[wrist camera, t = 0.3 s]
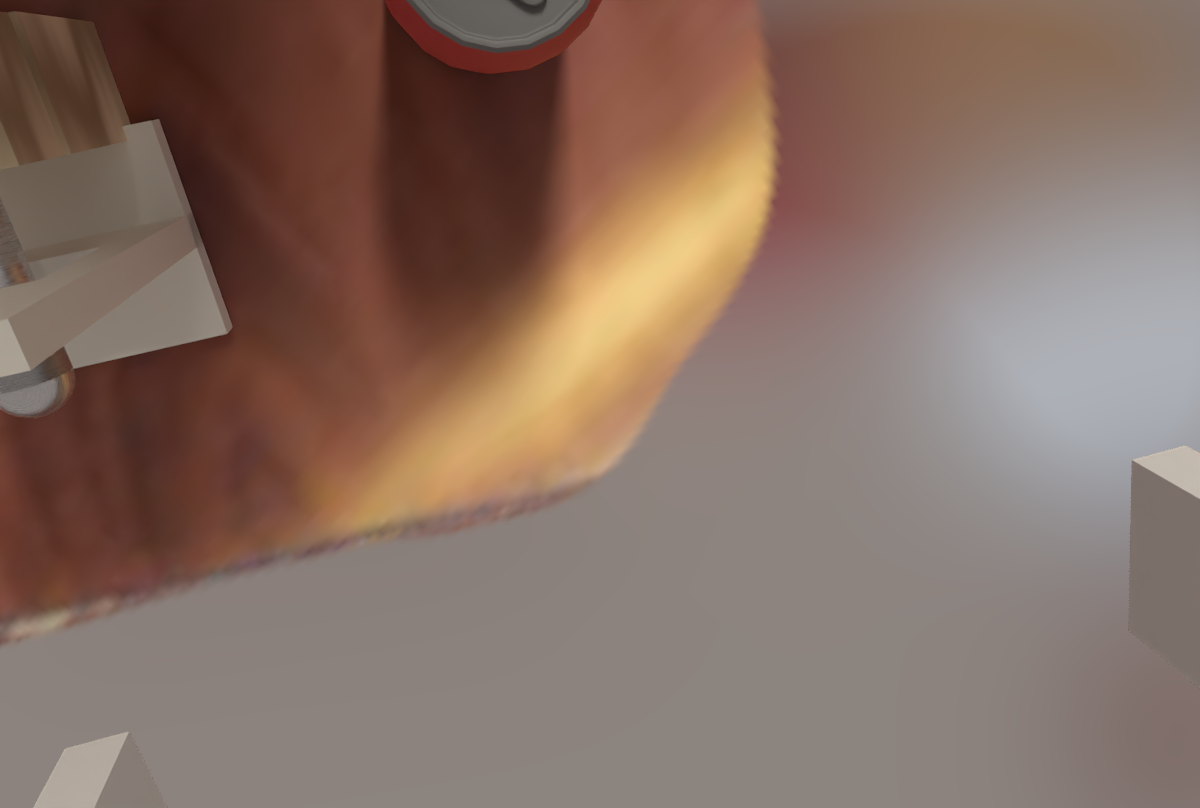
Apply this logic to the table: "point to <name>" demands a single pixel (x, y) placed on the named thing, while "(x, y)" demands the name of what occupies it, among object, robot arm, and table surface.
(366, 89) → the table surface
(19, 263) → the gold disc on rod
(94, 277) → the beige slotted stand
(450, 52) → the beer can
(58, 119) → the cradle
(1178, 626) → the robot arm
